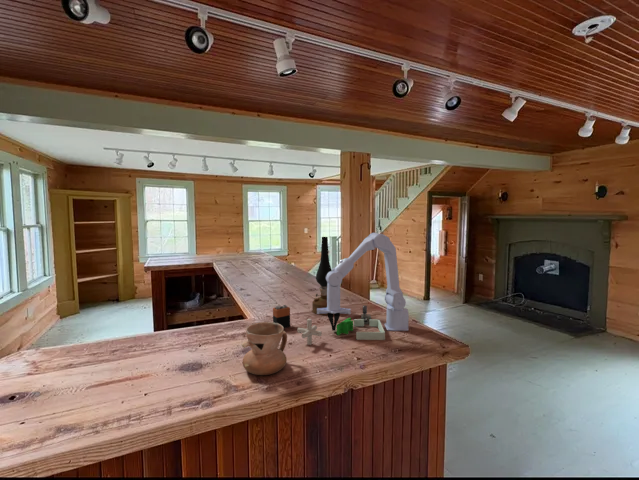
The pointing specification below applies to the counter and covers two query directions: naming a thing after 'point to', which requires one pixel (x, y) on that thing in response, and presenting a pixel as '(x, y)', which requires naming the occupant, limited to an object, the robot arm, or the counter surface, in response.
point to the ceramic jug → (265, 348)
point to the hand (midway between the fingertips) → (333, 329)
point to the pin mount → (366, 317)
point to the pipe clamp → (345, 326)
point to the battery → (282, 315)
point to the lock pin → (365, 311)
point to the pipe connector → (309, 331)
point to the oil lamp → (322, 278)
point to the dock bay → (370, 335)
